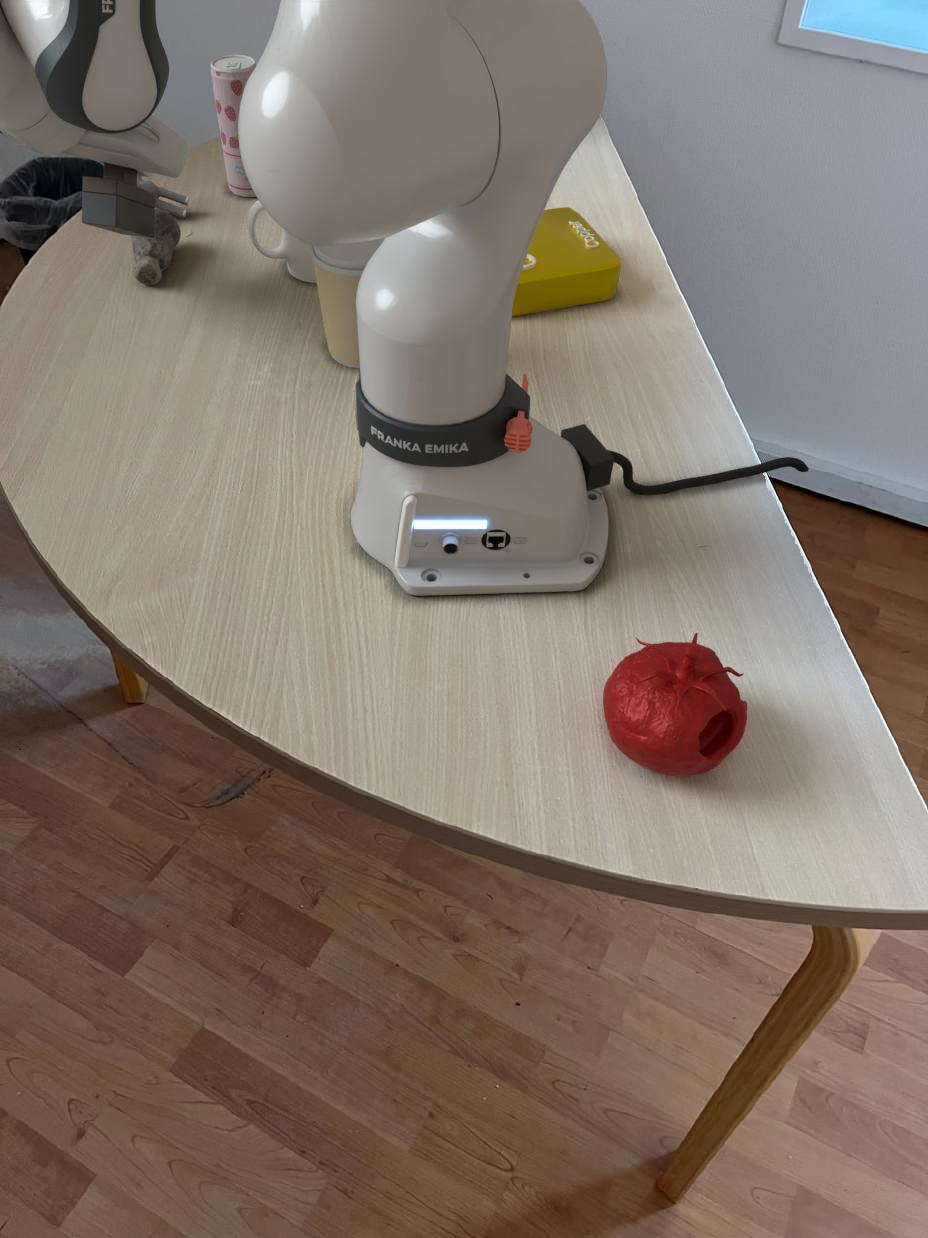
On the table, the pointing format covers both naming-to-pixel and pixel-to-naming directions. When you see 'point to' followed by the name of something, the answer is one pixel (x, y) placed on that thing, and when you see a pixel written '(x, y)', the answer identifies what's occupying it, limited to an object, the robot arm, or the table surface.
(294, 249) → the mug
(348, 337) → the coffee cup
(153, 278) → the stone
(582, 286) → the element tile
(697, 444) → the table surface
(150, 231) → the brush
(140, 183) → the elephant figurine
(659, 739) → the red tomato
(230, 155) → the beverage can
